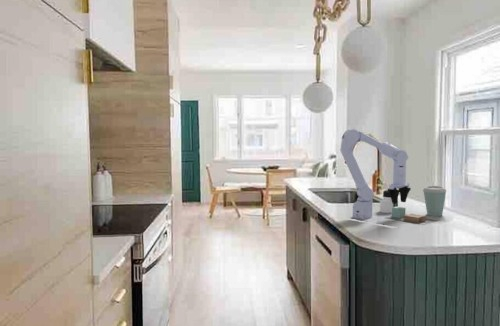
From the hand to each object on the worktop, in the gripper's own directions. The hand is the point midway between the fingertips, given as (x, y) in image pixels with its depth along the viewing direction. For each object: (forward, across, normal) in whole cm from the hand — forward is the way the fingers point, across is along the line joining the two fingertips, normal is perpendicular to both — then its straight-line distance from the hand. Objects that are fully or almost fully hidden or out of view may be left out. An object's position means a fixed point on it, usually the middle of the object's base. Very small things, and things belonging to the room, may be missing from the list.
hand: (399, 202), depth 202 cm
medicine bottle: (+8, +9, +11) cm, 16 cm away
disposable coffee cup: (+8, +19, -8) cm, 22 cm away
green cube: (+7, 0, 0) cm, 7 cm away
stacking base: (+8, -1, -7) cm, 11 cm away
